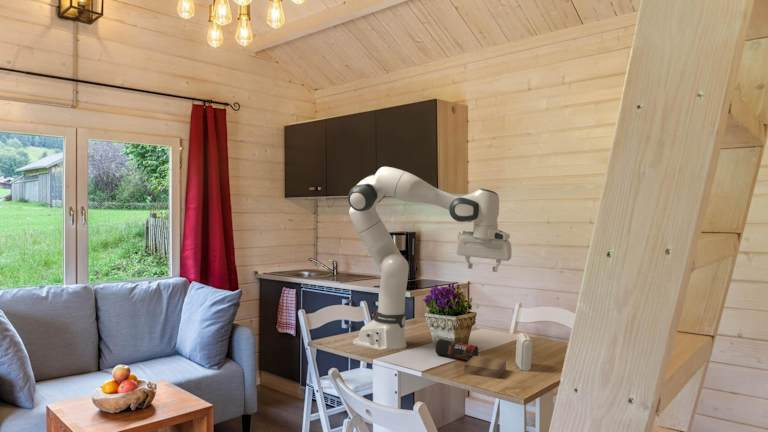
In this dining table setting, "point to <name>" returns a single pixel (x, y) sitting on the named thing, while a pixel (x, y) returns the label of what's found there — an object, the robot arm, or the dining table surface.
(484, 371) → the walnut block
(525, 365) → the photo printer
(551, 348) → the dining table surface
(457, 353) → the deodorant
